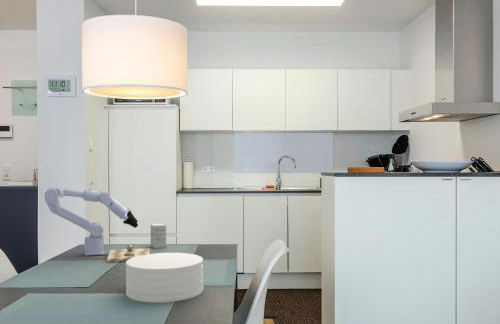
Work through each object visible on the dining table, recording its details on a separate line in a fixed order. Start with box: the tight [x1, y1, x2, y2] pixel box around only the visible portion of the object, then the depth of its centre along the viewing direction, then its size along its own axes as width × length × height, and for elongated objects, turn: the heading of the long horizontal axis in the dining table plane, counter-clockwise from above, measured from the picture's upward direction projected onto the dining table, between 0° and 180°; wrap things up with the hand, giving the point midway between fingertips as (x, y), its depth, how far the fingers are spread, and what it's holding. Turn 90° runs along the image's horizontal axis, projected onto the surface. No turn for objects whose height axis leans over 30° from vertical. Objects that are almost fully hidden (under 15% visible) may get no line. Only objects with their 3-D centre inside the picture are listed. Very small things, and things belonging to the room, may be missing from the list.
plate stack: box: [125, 252, 204, 303], centre depth 167 cm, size 28×28×12 cm
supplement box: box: [150, 223, 167, 249], centre depth 255 cm, size 7×7×13 cm
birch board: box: [106, 247, 151, 263], centre depth 229 cm, size 20×24×2 cm
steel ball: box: [126, 244, 134, 251], centre depth 235 cm, size 3×3×3 cm
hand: (136, 224), depth 244 cm, fingers open, 7 cm apart
